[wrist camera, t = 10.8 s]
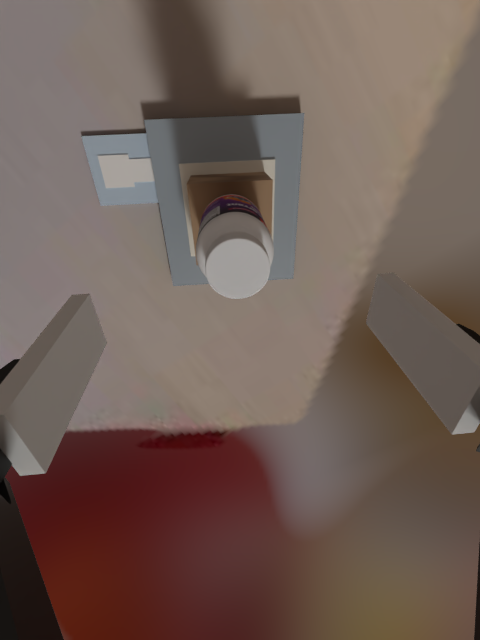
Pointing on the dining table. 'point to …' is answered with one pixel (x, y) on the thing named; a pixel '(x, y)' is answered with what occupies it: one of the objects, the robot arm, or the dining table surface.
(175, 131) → the board
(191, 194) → the walnut block
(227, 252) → the pill bottle
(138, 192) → the blueprint tile
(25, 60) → the dining table surface
